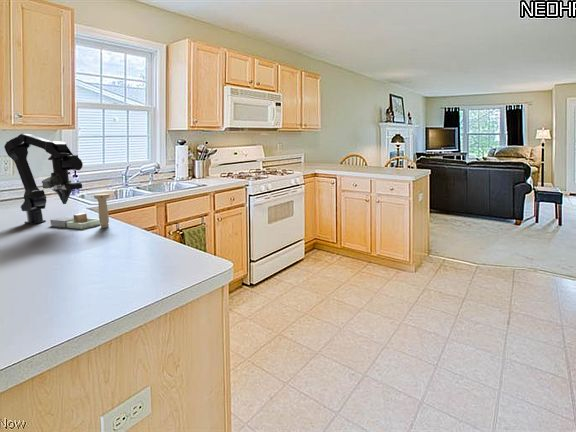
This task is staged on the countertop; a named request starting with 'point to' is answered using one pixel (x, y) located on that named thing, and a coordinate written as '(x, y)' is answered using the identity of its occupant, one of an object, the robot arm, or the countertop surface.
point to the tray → (84, 224)
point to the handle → (103, 209)
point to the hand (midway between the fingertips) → (64, 204)
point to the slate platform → (61, 221)
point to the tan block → (80, 218)
